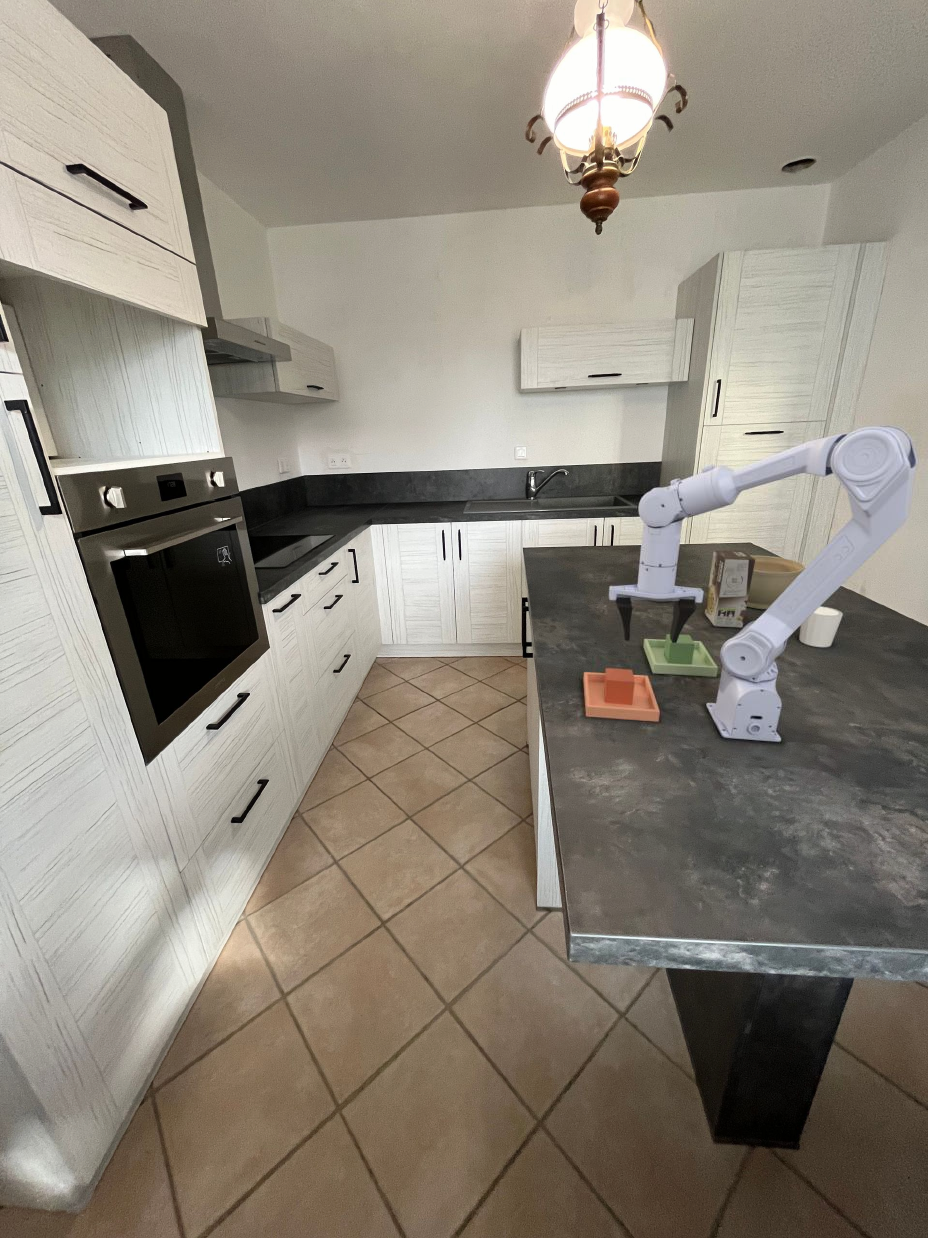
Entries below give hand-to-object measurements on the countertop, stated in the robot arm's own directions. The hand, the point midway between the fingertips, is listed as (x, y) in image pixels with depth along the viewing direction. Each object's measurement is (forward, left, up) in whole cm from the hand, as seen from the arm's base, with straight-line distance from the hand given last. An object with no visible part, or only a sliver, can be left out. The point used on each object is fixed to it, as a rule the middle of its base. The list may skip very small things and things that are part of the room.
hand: (649, 639), depth 84 cm
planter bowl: (+49, -35, -10) cm, 61 cm away
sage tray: (+12, -8, -9) cm, 17 cm away
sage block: (+12, -8, -9) cm, 17 cm away
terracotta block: (-5, +5, -9) cm, 11 cm away
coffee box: (+36, -23, -10) cm, 44 cm away
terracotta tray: (-5, +5, -9) cm, 12 cm away
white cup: (+25, -38, -10) cm, 46 cm away
